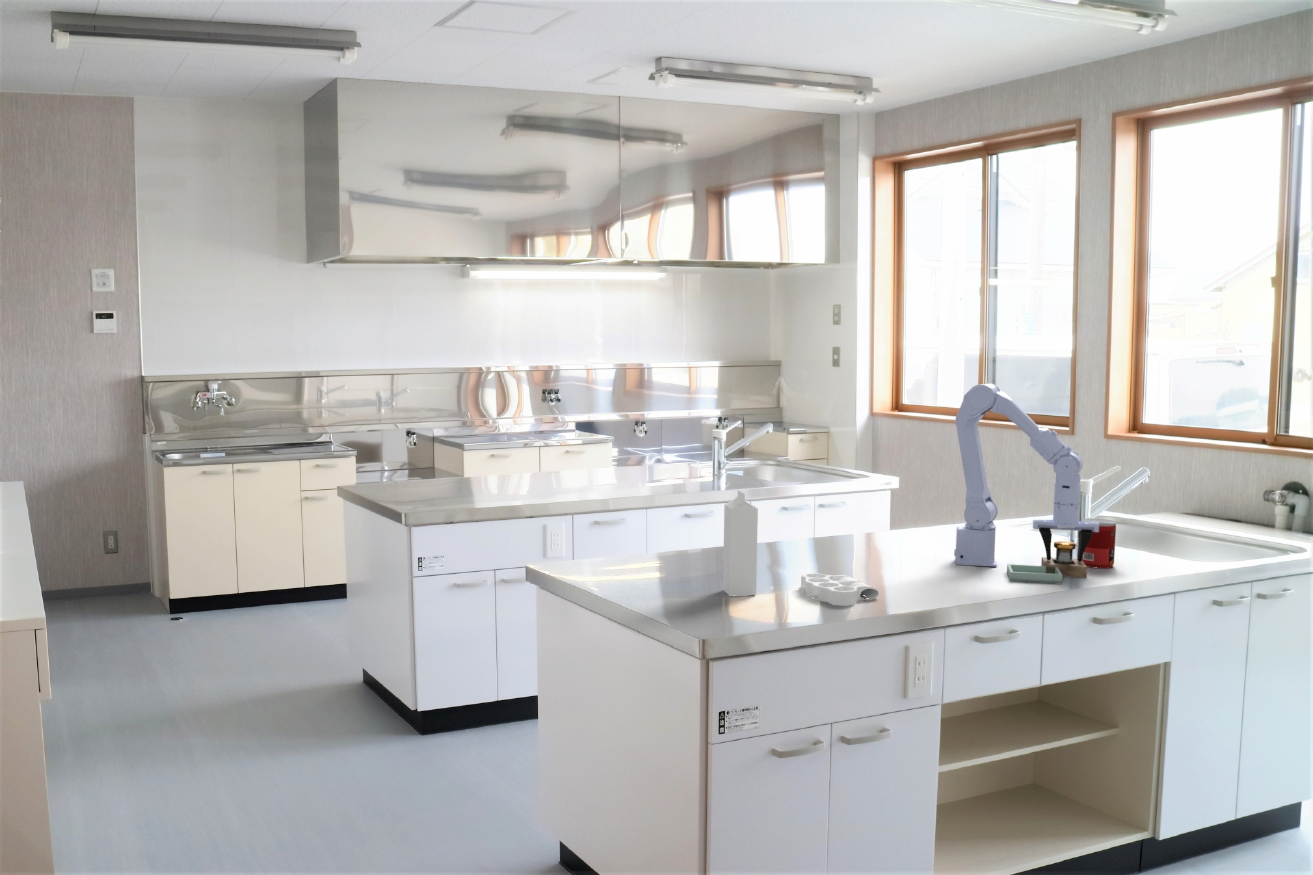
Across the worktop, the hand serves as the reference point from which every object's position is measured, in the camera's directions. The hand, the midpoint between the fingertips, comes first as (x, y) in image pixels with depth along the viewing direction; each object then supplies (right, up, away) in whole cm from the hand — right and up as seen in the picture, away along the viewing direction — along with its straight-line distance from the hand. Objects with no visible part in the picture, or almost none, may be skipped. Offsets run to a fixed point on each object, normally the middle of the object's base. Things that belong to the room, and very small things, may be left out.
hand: (1063, 560), depth 257 cm
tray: (-9, -3, -6) cm, 12 cm away
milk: (-79, -5, -24) cm, 83 cm away
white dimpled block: (-58, -5, -25) cm, 64 cm away
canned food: (+11, -2, +9) cm, 15 cm away
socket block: (0, -3, 0) cm, 3 cm away
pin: (0, -3, 0) cm, 3 cm away
